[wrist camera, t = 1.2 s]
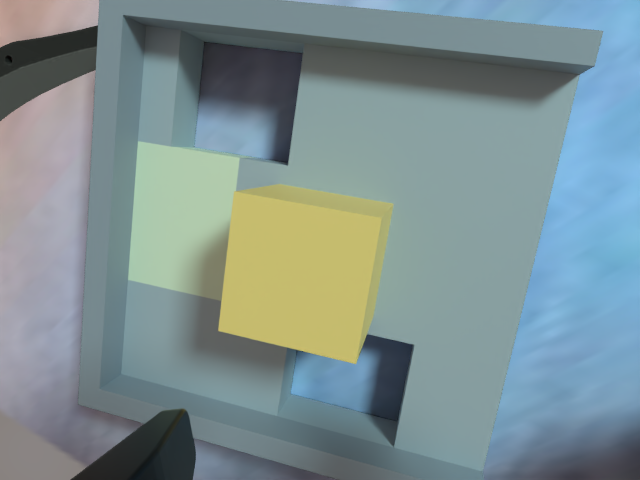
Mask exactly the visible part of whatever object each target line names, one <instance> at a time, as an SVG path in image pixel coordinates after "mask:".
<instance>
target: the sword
mask: <svg viewBox="0 0 640 480" xmlns="http://www.w3.org/2000/svg"><path fill="white" fill-rule="evenodd" d="M97 37H98V26H94V27H90V28H86V29H82V30H77V31H73V32H68V33H63V34H58V35H53V36H48V37H42V38H36V39H29V40H23V41H16V42H12V43H9V44H7V45H5V46H2V47H1V48H0V121H1V120H2V119H3V118H5V117H6V116H7V115H9V114H10V113H11V112H13V111H14V110H16V109H17V108H19V107H20V106H22V105H23V104H25V103H26V102H28V101H30V100H32V99H34V98H35V97H37V96H39V95H40V94H42V93H45V92H47V91H49V90H51V89H53V88H55V87H57V86H59V85H61V84H63V83H66V82H68V81H70V80H73V79H75V78H77V77H80V76H82V75H84V74H87V73H89V72H91V71H94V70H96V56H97ZM11 58H12V61H11Z"/></svg>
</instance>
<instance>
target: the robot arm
mask: <svg viewBox="0 0 640 480" xmlns="http://www.w3.org/2000/svg"><path fill="white" fill-rule="evenodd" d="M195 460H196V452H195V445H194V439H193V434H192V429H191V423H190V418H189V414H188V412H187V411H186V410H185V409H183V408H180V409H170V410H163V411H161V412H159V413H158V414H157V415H155V416H154V417H153V418H152V419H150V420H149V421H148V422H146V423H145V424H144V425H142V426H141V427H140V428H138V429H137V430H136V431H134V432H133V433H132V434H130V435H129V436H128V437H126V438H125V439H124V440H122V441H121V442H120V443H118V444H117V445H116V446H114V447H113V448H112V449H111V450H109V451H108V452H107V453H105V454H104V455H103V456H101V457H100V458H99V459H97V460H96V461H95V462H93V463H92V464H91V465H89V466H88V467H87V468H85V469H84V470H83V471H82V472H80V473H79V474H77V475H76V476H75V477H74V478H72V479H71V480H193V474H194V468H195Z"/></svg>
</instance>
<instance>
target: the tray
mask: <svg viewBox="0 0 640 480" xmlns="http://www.w3.org/2000/svg"><path fill="white" fill-rule="evenodd" d="M602 34H603V31H599V30H588V29H578V28H567V27H557V26H546V25H536V24H525V23H515V22H504V21H494V20H483V19H473V18H462V17H452V16H441V15H431V14H420V13H409V12H399V11H388V10H378V9H367V8H357V7H346V6H336V5H325V4H315V3H304V2H294V1H283V0H99V18H98V37H97V56H96V75H95V93H94V112H93V131H92V150H91V168H90V187H89V206H88V225H87V243H86V262H85V281H84V300H83V318H82V337H81V356H80V375H79V393H78V405H81V406H85V407H88V408H92V409H95V410H99V411H102V412H106V413H109V414H113V415H116V416H120V417H123V418H126V419H130V420H133V421H137V422H140V423H144V424H145V423H146V422H148V421H149V420H150V419H152V418H153V417H154V416H155V415H157V414H158V413H159V412H161V411H163V410H170V409H180V408H183V409H185V410H186V411H187V412H188V414H189V418H190V423H191V429H192V434H193V438H196V439H199V440H203V441H206V442H209V443H213V444H216V445H220V446H223V447H227V448H230V449H234V450H237V451H241V452H244V453H248V454H251V455H254V456H258V457H261V458H265V459H268V460H272V461H275V462H279V463H282V464H286V465H289V466H293V467H296V468H299V469H303V470H306V471H310V472H313V473H317V474H320V475H324V476H327V477H331V478H334V479H338V480H484V477H483V468H484V464H485V460H486V456H487V452H488V448H489V444H490V439H491V435H492V431H493V427H494V423H495V419H496V415H497V411H498V407H499V403H500V399H501V394H502V390H503V386H504V382H505V378H506V374H507V370H508V366H509V362H510V358H511V354H512V349H513V345H514V341H515V337H516V333H517V329H518V325H519V321H520V317H521V313H522V309H523V305H524V300H525V296H526V292H527V288H528V284H529V280H530V276H531V272H532V268H533V264H534V260H535V255H536V251H537V247H538V243H539V239H540V235H541V231H542V227H543V223H544V219H545V215H546V210H547V206H548V202H549V198H550V194H551V190H552V186H553V182H554V178H555V174H556V170H557V165H558V161H559V157H560V153H561V149H562V145H563V141H564V137H565V133H566V129H567V125H568V120H569V116H570V112H571V108H572V104H573V100H574V96H575V92H576V88H577V84H578V80H579V75H580V74H581V73H583V72H585V71H587V70H588V69H590V68H592V67H594V66H595V62H596V58H597V54H598V50H599V46H600V42H601V38H602ZM204 42H211V43H220V44H228V45H237V46H245V47H254V48H263V49H271V50H280V51H289V52H297V53H303V57H302V65H301V72H300V80H299V87H298V95H297V102H296V110H295V117H294V124H293V132H292V139H291V147H290V154H289V162H288V163H285V162H279V161H273V160H267V159H261V158H255V157H249V156H242V155H236V154H230V153H224V152H218V151H212V150H206V149H199V148H194V145H195V134H196V123H197V113H198V102H199V92H200V81H201V71H202V60H203V50H204ZM276 184H282V185H288V186H294V187H300V188H306V189H312V190H317V191H323V192H329V193H335V194H341V195H346V196H352V197H358V198H364V199H370V200H375V201H381V202H387V203H393V204H394V205H393V210H392V216H391V222H390V227H389V233H388V238H387V244H386V249H385V255H384V260H383V266H382V271H381V277H380V283H379V288H378V294H377V299H376V305H375V310H374V316H373V319H372V322H371V325H370V327H369V330H368V333H367V334H369V335H373V336H378V337H382V338H387V339H391V340H396V341H400V342H404V343H409V344H413V346H412V351H411V356H410V361H409V366H408V371H407V376H406V381H405V386H404V391H403V396H402V401H401V406H400V411H399V416H398V421H397V422H396V421H393V420H389V419H385V418H381V417H377V416H373V415H369V414H366V413H362V412H358V411H354V410H350V409H346V408H342V407H339V406H335V405H331V404H327V403H323V402H319V401H315V400H311V399H308V398H304V397H300V396H296V395H292V394H291V387H292V380H293V373H294V367H295V360H296V353H297V350H296V349H291V348H287V347H283V346H279V345H275V344H271V343H266V342H262V341H258V340H254V339H250V338H246V337H241V336H237V335H233V334H229V333H225V332H221V331H218V328H219V319H220V310H221V301H222V292H223V283H224V275H225V266H226V257H227V248H228V239H229V230H230V222H231V213H232V204H233V195H234V191H240V190H246V189H252V188H258V187H264V186H270V185H276Z"/></svg>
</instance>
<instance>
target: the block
mask: <svg viewBox="0 0 640 480" xmlns="http://www.w3.org/2000/svg"><path fill="white" fill-rule="evenodd" d="M393 205H394V204H393V203H387V202H381V201H375V200H370V199H364V198H358V197H352V196H346V195H341V194H335V193H329V192H323V191H317V190H312V189H306V188H300V187H294V186H288V185H282V184H276V185H270V186H264V187H258V188H252V189H246V190H240V191H234V195H233V204H232V213H231V222H230V230H229V239H228V248H227V257H226V266H225V275H224V283H223V292H222V301H221V310H220V319H219V328H218V331H221V332H225V333H229V334H233V335H237V336H241V337H246V338H250V339H254V340H258V341H262V342H266V343H271V344H275V345H279V346H283V347H287V348H291V349H296V350H300V351H304V352H308V353H312V354H316V355H321V356H325V357H329V358H333V359H337V360H341V361H346V362H350V363H354V364H356V363H357V360H358V357H359V354H360V352H361V349H362V346H363V344H364V341H365V338H366V335H367V333H368V330H369V327H370V325H371V322H372V319H373V316H374V310H375V305H376V299H377V294H378V288H379V283H380V277H381V271H382V266H383V260H384V255H385V249H386V244H387V238H388V233H389V227H390V222H391V216H392V210H393Z"/></svg>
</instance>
